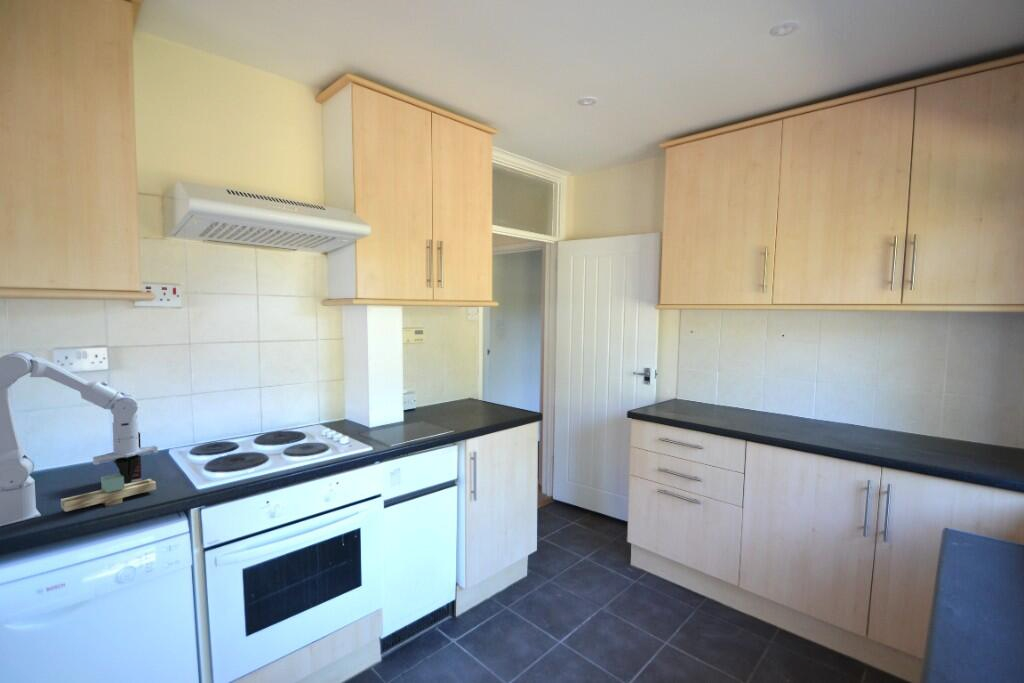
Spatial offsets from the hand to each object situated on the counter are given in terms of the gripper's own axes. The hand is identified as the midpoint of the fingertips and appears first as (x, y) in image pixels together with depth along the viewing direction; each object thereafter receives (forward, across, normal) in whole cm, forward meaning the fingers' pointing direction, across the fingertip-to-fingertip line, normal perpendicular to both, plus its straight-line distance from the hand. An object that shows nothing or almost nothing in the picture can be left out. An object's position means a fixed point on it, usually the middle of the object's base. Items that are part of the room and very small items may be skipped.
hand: (127, 482), depth 135 cm
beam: (+5, -4, 0) cm, 6 cm away
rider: (+2, -3, 0) cm, 4 cm away
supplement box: (+5, +5, +18) cm, 19 cm away
